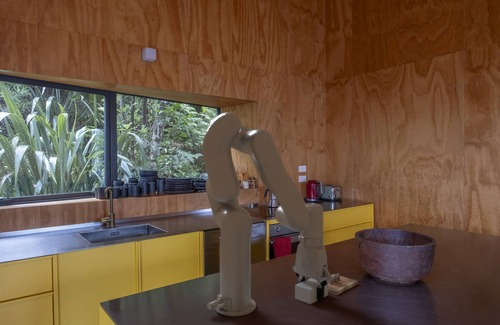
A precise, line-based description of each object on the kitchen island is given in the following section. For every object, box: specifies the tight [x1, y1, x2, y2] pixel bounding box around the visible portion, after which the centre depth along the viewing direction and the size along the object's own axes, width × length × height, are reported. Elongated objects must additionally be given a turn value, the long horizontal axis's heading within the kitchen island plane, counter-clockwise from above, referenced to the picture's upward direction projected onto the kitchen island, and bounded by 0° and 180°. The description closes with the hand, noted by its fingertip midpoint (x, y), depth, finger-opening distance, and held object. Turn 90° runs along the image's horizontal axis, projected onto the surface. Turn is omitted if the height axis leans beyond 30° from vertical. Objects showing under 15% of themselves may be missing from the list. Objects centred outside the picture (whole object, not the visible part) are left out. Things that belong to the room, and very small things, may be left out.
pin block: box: [324, 272, 359, 296], centre depth 124 cm, size 14×10×4 cm
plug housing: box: [294, 278, 329, 305], centre depth 115 cm, size 10×6×4 cm, turn 134°
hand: (311, 295), depth 115 cm, fingers closed on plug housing, 6 cm apart
